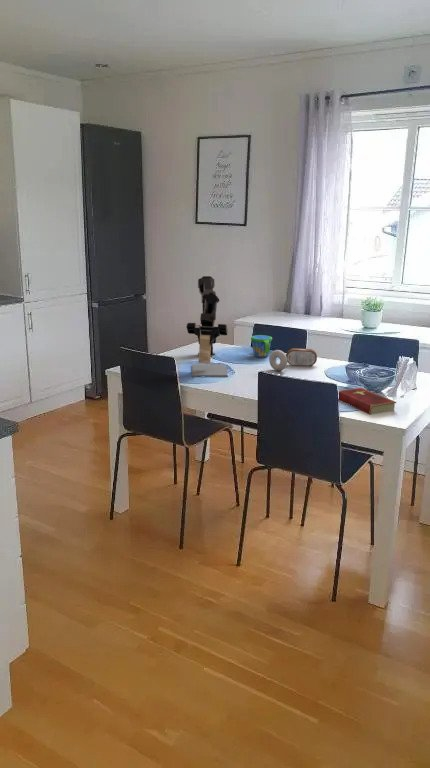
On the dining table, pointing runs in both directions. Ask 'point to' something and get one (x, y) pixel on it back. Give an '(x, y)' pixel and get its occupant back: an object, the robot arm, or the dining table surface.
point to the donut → (274, 363)
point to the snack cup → (261, 345)
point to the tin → (301, 357)
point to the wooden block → (204, 349)
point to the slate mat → (209, 370)
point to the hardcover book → (366, 400)
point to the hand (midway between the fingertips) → (204, 344)
